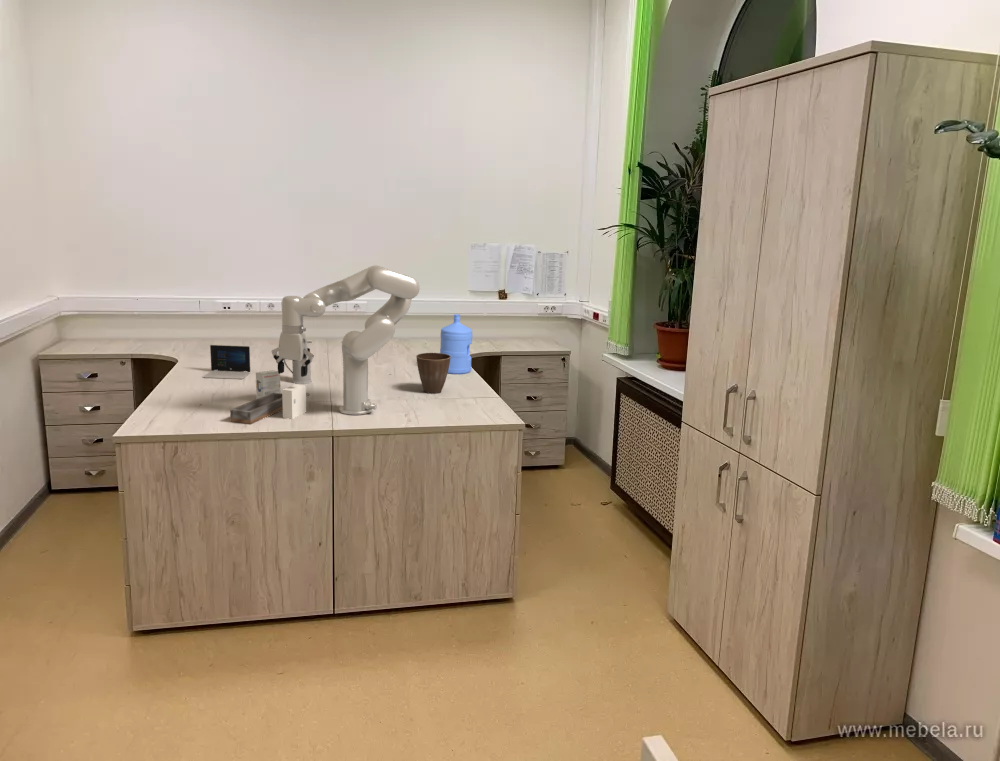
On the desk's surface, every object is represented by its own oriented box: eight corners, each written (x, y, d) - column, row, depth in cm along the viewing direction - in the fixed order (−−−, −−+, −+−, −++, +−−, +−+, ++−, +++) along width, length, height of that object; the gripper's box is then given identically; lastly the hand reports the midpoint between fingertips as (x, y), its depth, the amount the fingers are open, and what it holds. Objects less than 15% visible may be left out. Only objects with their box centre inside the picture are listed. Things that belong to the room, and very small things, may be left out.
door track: (292, 405, 303) (291, 394, 302) (250, 424, 277) (250, 412, 276) (273, 403, 305) (273, 392, 304) (230, 421, 279) (230, 409, 278)
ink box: (263, 402, 305) (262, 374, 303) (255, 400, 309) (255, 372, 306) (281, 399, 312) (280, 371, 309) (274, 396, 315) (273, 369, 312)
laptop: (201, 378, 341) (200, 350, 338) (211, 372, 353) (210, 344, 350) (242, 380, 342) (241, 351, 339) (250, 373, 354) (249, 346, 351)
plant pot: (444, 397, 326) (445, 360, 323) (411, 394, 329) (411, 357, 326) (453, 389, 341) (454, 354, 337) (421, 386, 343) (422, 351, 340)
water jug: (448, 375, 367) (449, 317, 361) (434, 368, 380) (435, 313, 374) (476, 373, 375) (478, 316, 368) (462, 366, 388) (464, 312, 381)
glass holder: (304, 385, 337) (303, 351, 333) (277, 381, 342) (276, 348, 338) (315, 381, 344) (315, 348, 341) (289, 377, 350) (289, 345, 346)
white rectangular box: (306, 412, 295) (305, 385, 292) (292, 419, 285) (291, 390, 283) (296, 411, 296) (296, 383, 293) (282, 417, 287) (282, 389, 284)
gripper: (318, 330, 284) (318, 375, 288) (277, 325, 289) (277, 370, 293) (308, 333, 277) (307, 379, 281) (266, 328, 282) (266, 373, 286)
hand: (292, 374), depth 287 cm, fingers open, 9 cm apart
